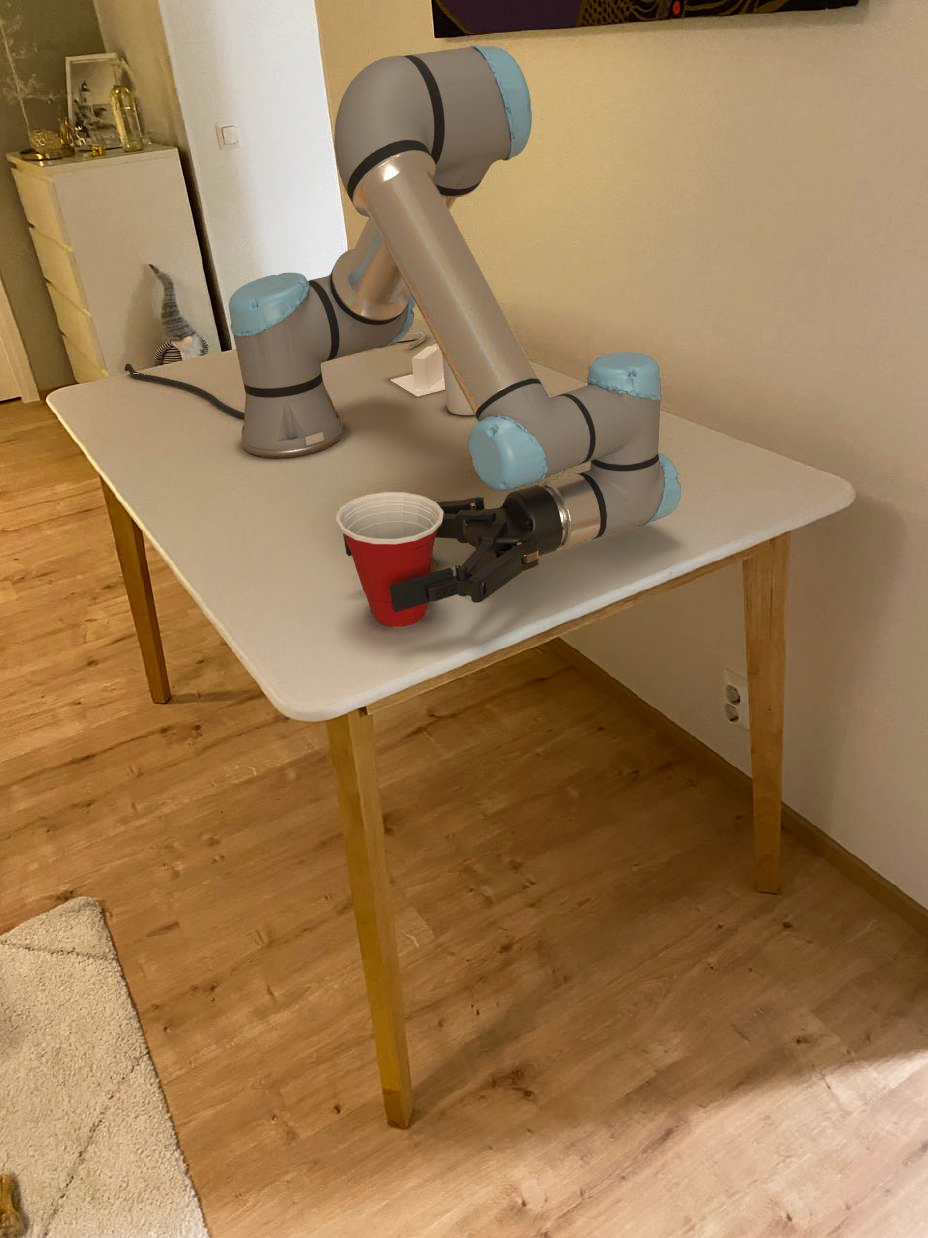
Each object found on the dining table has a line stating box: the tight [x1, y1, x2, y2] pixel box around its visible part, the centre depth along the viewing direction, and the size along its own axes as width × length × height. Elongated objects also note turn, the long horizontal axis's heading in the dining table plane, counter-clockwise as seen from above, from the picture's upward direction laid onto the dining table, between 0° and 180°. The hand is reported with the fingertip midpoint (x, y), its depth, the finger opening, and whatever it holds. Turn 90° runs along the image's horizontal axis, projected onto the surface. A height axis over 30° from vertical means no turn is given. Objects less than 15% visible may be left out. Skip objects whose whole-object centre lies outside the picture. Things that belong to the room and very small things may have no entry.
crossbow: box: [394, 330, 426, 350], centre depth 188 cm, size 16×13×2 cm
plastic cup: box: [335, 491, 443, 628], centre depth 101 cm, size 11×11×12 cm
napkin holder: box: [390, 343, 445, 398], centre depth 167 cm, size 15×11×6 cm
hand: (367, 570), depth 100 cm, fingers open, 13 cm apart
